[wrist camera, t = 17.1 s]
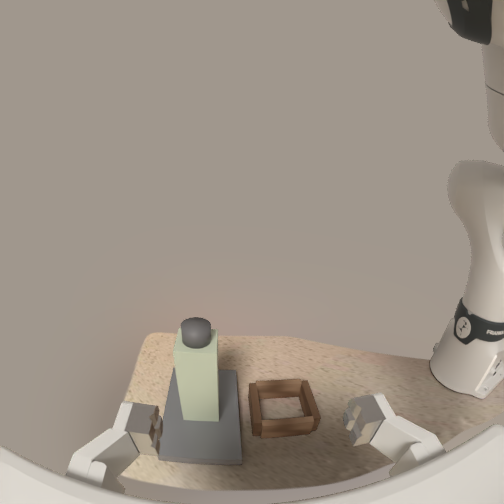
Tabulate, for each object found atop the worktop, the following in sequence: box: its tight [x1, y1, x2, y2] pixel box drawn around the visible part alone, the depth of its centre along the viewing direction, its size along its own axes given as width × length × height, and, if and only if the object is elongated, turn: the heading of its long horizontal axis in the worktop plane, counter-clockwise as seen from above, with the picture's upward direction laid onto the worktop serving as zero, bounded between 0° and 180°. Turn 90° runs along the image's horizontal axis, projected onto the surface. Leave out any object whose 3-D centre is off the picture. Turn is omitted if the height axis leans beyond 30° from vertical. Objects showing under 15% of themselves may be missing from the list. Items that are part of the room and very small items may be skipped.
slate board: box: [158, 368, 242, 465], centre depth 33 cm, size 10×17×2 cm, turn 5°
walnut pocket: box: [248, 379, 321, 438], centre depth 33 cm, size 9×9×3 cm
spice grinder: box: [173, 317, 219, 422], centre depth 30 cm, size 5×5×14 cm
